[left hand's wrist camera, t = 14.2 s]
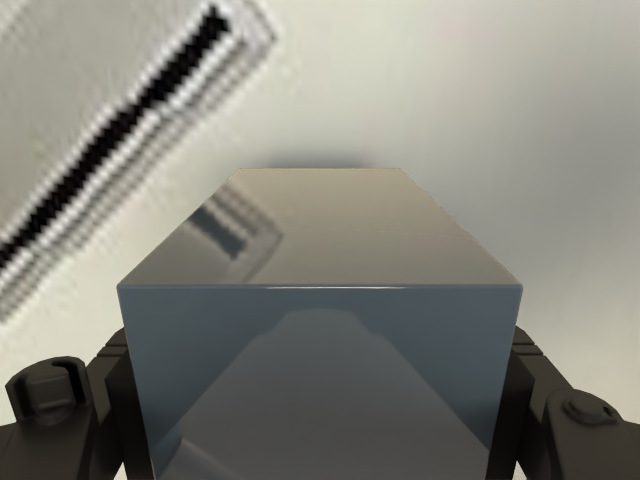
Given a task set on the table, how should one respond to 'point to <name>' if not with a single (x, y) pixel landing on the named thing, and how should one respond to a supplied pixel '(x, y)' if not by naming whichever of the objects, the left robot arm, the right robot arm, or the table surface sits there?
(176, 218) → the table surface
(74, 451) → the left robot arm
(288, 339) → the block
